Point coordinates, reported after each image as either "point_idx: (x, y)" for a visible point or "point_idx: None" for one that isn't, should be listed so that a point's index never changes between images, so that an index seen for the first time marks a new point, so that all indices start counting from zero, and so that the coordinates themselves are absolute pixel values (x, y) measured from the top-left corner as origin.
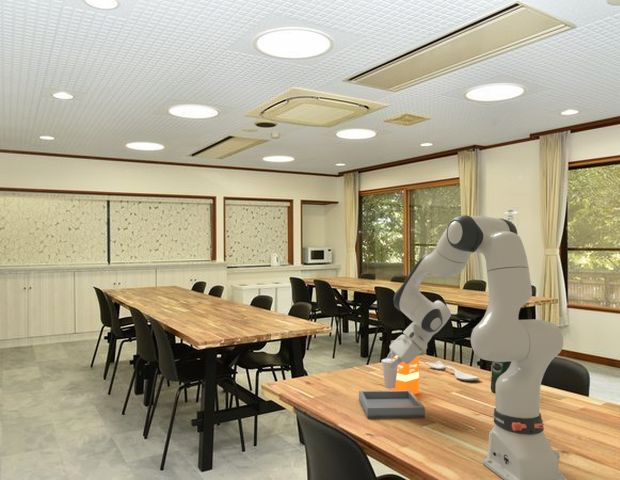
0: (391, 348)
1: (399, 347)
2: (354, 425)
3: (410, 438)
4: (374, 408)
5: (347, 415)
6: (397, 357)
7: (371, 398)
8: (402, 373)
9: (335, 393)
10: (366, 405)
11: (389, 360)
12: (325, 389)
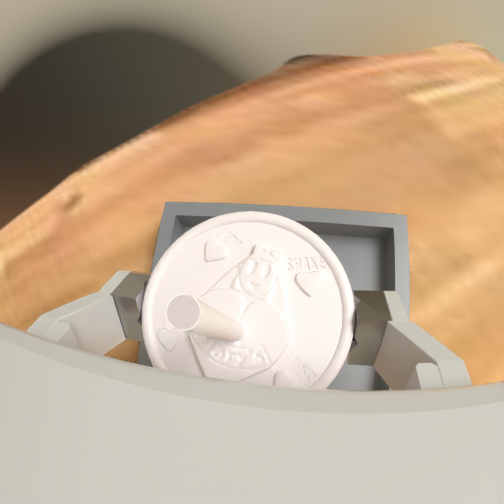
0: (481, 388)
1: (102, 476)
2: (135, 171)
3: (26, 300)
4: (160, 229)
5: (222, 160)
6: (44, 335)
7: (384, 278)
8: None
9: (463, 167)
10: (195, 203)
11: (222, 297)
12: (494, 150)
